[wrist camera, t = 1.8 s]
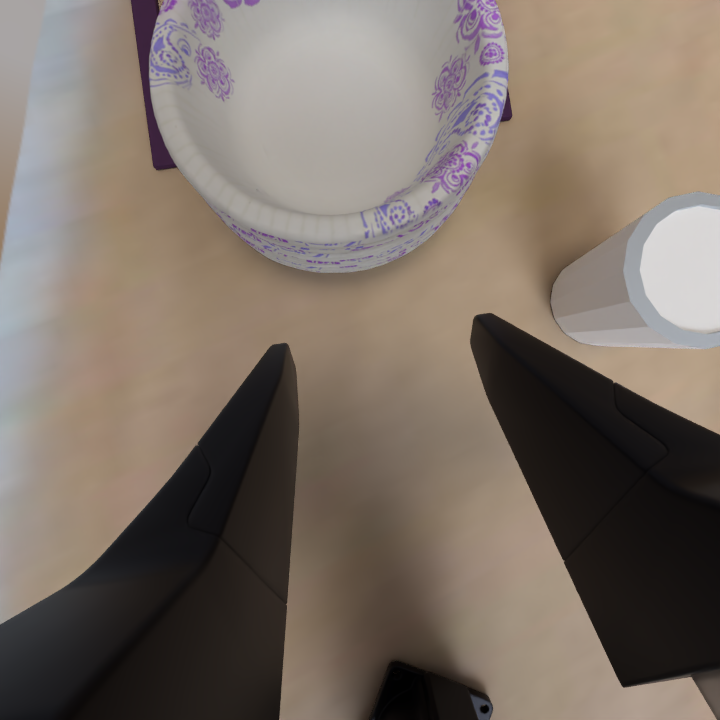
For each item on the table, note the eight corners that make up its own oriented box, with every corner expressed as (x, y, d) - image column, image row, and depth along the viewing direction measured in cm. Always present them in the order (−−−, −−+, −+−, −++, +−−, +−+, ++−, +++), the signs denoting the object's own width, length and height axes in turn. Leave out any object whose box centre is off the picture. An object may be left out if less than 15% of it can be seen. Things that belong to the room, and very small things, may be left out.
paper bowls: (231, 38, 22) (163, -143, 15) (469, 65, 23) (530, -101, 15) (203, 275, 22) (116, 221, 14) (446, 301, 22) (496, 262, 14)
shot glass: (568, 373, 22) (666, 374, 15) (522, 272, 22) (599, 227, 15) (667, 329, 22) (810, 310, 15) (621, 229, 22) (742, 165, 15)
